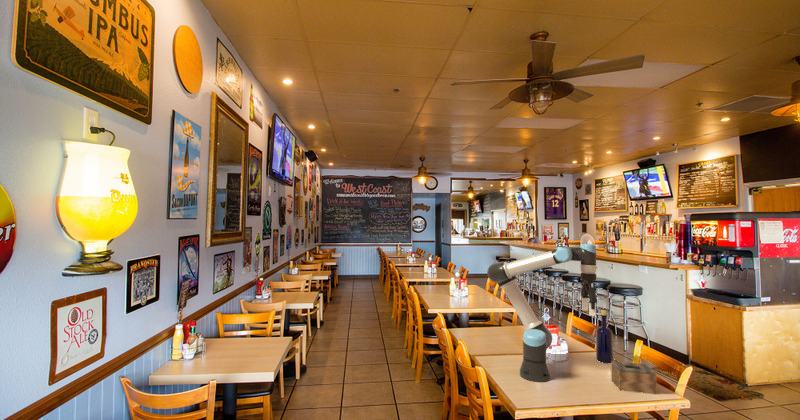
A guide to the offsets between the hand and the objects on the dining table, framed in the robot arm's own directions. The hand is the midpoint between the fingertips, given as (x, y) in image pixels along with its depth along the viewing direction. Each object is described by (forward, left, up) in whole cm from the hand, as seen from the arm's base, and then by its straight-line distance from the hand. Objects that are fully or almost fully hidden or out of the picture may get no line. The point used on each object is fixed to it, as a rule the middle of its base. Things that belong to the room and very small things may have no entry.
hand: (588, 312), depth 195 cm
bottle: (+17, +33, -35) cm, 51 cm away
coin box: (+19, -5, -35) cm, 40 cm away
